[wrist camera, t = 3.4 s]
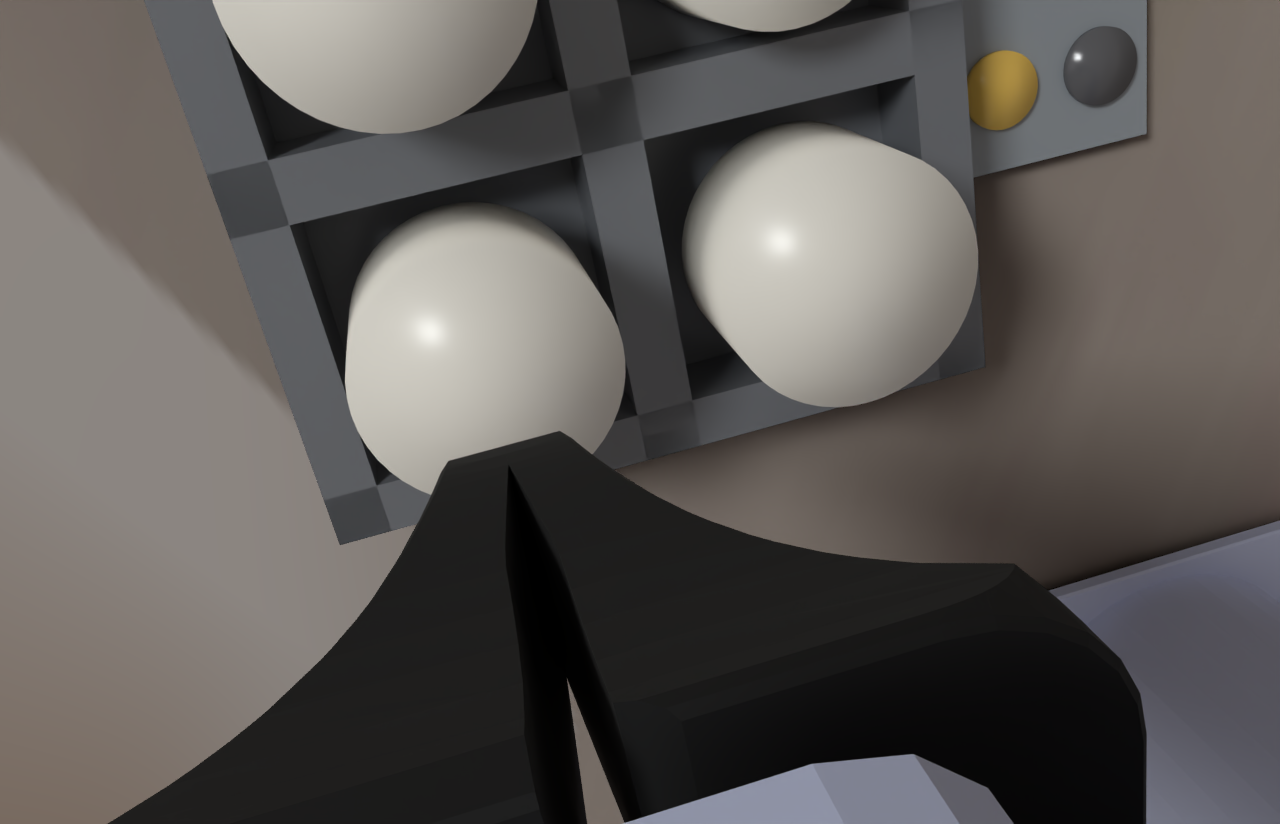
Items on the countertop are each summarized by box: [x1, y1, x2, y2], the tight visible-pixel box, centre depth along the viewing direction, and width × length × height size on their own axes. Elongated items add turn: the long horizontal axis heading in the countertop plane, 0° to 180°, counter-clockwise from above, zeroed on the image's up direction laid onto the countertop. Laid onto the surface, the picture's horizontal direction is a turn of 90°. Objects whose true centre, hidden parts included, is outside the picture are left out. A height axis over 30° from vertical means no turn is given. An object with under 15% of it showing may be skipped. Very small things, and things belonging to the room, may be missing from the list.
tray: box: [144, 0, 985, 545], centre depth 18 cm, size 12×12×2 cm
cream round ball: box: [345, 202, 625, 495], centre depth 17 cm, size 4×4×3 cm
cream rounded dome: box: [682, 121, 978, 407], centre depth 18 cm, size 4×4×3 cm
